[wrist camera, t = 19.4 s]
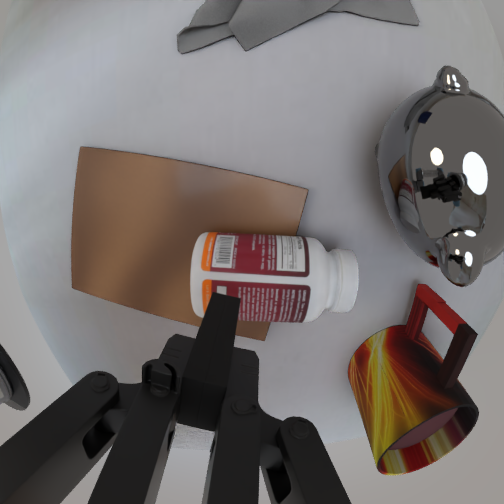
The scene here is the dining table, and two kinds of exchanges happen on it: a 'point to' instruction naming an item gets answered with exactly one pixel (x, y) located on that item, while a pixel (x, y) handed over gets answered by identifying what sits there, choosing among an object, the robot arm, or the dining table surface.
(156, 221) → the cork mat
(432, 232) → the piggy bank
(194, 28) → the cloth
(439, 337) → the dining table surface
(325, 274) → the pill bottle
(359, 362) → the mug
